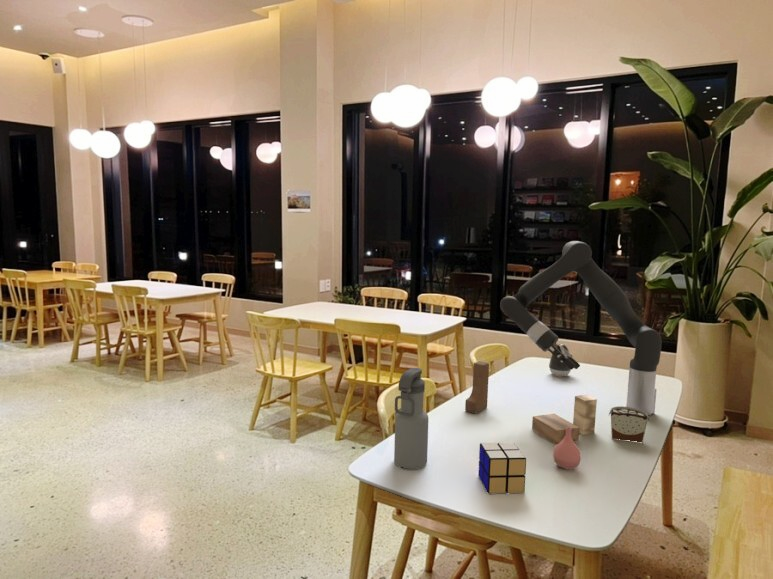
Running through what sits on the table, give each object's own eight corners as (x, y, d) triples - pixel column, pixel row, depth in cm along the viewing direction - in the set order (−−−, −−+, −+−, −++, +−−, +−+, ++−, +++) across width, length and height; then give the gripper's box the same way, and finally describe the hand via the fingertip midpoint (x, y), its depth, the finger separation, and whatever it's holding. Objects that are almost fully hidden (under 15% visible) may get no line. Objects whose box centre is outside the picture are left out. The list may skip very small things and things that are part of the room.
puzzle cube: (477, 476, 144) (479, 442, 143) (512, 475, 145) (514, 441, 144) (487, 494, 134) (489, 458, 133) (524, 493, 135) (527, 457, 134)
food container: (644, 437, 173) (647, 408, 172) (647, 444, 168) (650, 415, 166) (605, 431, 177) (607, 403, 176) (606, 438, 172) (609, 409, 170)
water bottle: (416, 474, 144) (419, 378, 141) (387, 465, 149) (389, 372, 146) (432, 460, 153) (435, 369, 149) (404, 452, 158) (406, 364, 154)
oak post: (584, 427, 181) (586, 394, 179) (594, 432, 176) (596, 399, 175) (572, 428, 179) (574, 395, 178) (582, 434, 175) (584, 400, 173)
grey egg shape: (550, 377, 241) (552, 346, 239) (547, 371, 251) (549, 341, 249) (572, 379, 239) (575, 347, 237) (568, 372, 249) (570, 342, 247)
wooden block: (474, 414, 191) (476, 367, 189) (464, 411, 194) (466, 365, 192) (487, 408, 198) (489, 363, 196) (477, 405, 201) (479, 360, 199)
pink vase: (558, 459, 156) (560, 421, 154) (583, 466, 151) (586, 427, 149) (548, 468, 150) (550, 428, 148) (574, 476, 145) (577, 436, 143)
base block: (553, 427, 181) (554, 413, 181) (578, 441, 169) (579, 427, 169) (531, 430, 178) (532, 416, 178) (556, 445, 166) (556, 430, 166)
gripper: (544, 327, 183) (579, 360, 175) (553, 329, 195) (587, 360, 188) (530, 343, 185) (564, 375, 177) (540, 343, 197) (572, 374, 190)
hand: (576, 367), depth 183 cm, fingers open, 8 cm apart
